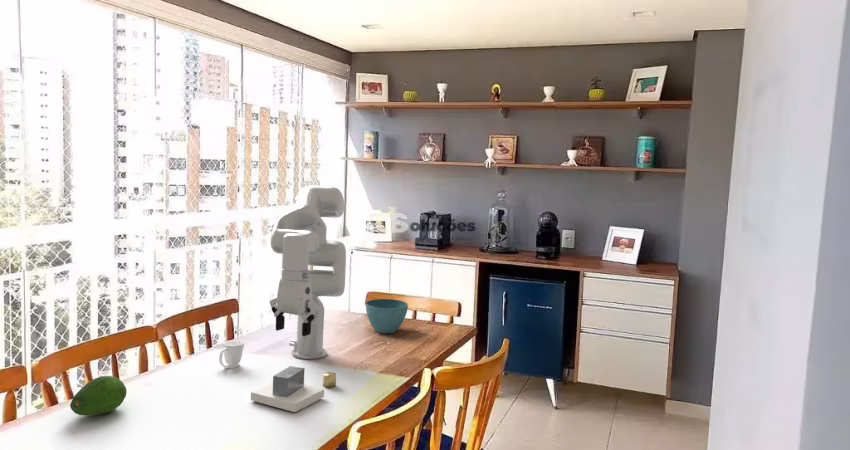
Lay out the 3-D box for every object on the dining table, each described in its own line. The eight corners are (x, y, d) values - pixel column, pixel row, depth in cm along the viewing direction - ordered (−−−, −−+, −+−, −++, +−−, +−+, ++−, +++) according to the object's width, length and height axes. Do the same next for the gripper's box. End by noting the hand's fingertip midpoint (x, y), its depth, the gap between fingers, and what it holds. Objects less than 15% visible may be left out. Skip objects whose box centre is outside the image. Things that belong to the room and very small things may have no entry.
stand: (250, 402, 180) (250, 392, 180) (281, 388, 193) (282, 378, 193) (294, 414, 173) (295, 403, 173) (323, 398, 186) (324, 389, 186)
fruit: (85, 428, 157) (85, 390, 156) (59, 420, 161) (59, 383, 160) (134, 408, 171) (135, 373, 170) (109, 401, 175) (109, 367, 174)
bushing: (320, 386, 196) (321, 374, 196) (327, 383, 200) (328, 371, 199) (331, 389, 194) (331, 376, 194) (338, 385, 198) (338, 373, 198)
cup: (248, 364, 213) (248, 341, 213) (228, 372, 204) (228, 349, 203) (231, 361, 216) (232, 338, 215) (211, 369, 207) (212, 345, 206)
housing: (289, 383, 189) (290, 366, 188) (303, 386, 187) (304, 368, 187) (272, 394, 179) (273, 375, 178) (287, 397, 178) (288, 378, 177)
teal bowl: (405, 338, 258) (407, 309, 257) (362, 335, 258) (363, 306, 257) (407, 327, 276) (408, 300, 275) (366, 324, 276) (368, 297, 275)
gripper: (326, 277, 180) (324, 334, 182) (280, 270, 188) (278, 325, 190) (311, 281, 174) (308, 340, 175) (263, 273, 181) (261, 330, 183)
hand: (292, 332), depth 183 cm, fingers open, 9 cm apart
